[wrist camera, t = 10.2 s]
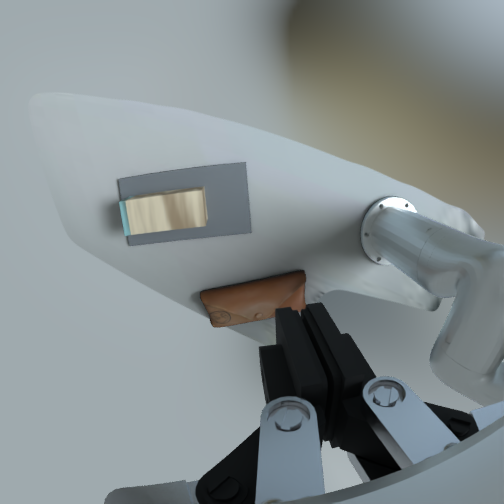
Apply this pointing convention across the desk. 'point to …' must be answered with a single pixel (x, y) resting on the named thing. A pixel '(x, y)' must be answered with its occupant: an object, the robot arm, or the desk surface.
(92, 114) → the desk surface
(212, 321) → the sunglasses case
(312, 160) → the desk surface
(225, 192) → the charcoal mat
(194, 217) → the wooden block
